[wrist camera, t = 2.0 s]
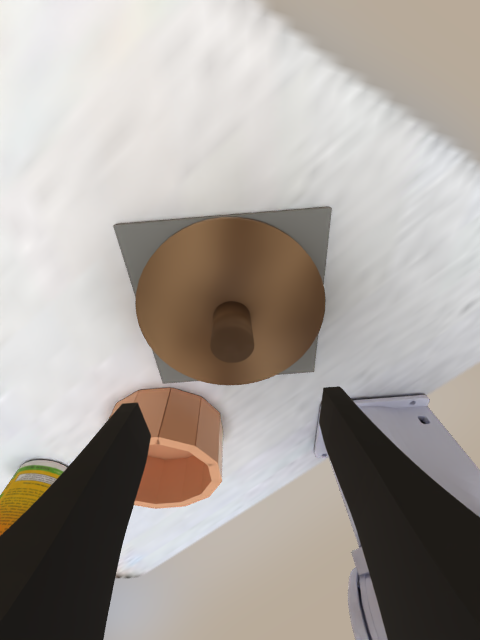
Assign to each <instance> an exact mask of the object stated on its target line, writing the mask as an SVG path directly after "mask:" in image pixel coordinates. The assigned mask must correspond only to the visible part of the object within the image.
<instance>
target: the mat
mask: <svg viewBox="0 0 480 640" xmlns="http://www.w3.org/2000/svg"><path fill="white" fill-rule="evenodd" d="M331 210H332V208H331V207H319V208H306V209H294V210H282V211H269V212H257V213H245V214H233V215H220V216H208V217H196V218H183V219H171V220H159V221H147V222H134V223H122V224H116V225H114V226H113V227H114V230H115V233H116V236H117V239H118V242H119V246H120V249H121V252H122V255H123V258H124V261H125V265H126V268H127V271H128V274H129V277H130V281H131V284H132V287H133V290H134V293H135V296H136V291H137V286H138V282H139V279H140V276H141V274H142V271H143V269H144V267H145V266H146V264H147V262H148V261H149V259H150V258H151V256H152V255H153V254H154V253H155V252H156V250H157V249H158V248H159V247H160V246H161V245H162V244H163V243H164V242H165V241H166V240H167V239H168V238H169V237H171V236H172V235H173V234H175V233H177V232H178V231H180V230H181V229H183V228H185V227H187V226H189V225H191V224H194V223H196V222H200V221H203V220H206V219H211V218H218V217H243V218H251V219H254V220H258V221H262V222H265V223H267V224H269V225H272V226H274V227H276V228H278V229H280V230H281V231H283V232H285V233H286V234H288V235H289V236H290V237H291V238H293V239H294V240H295V241H296V242H297V243H298V244H299V245H300V246H301V247H302V248H303V249H304V250H305V251H306V253H307V254H308V255H309V256H310V257H311V259H312V261H313V262H314V264H315V265H316V267H317V269H318V271H319V274H320V276H321V279H322V282H323V284H324V275H325V265H326V256H327V247H328V238H329V228H330V219H331ZM317 339H318V335H317V337H316V339H315V340H314V342H313V343H312V345H311V346H310V348H309V349H308V350H307V351H306V353H305V354H304V355H303V356H302V357H301V358H300V359H299V360H298V361H297V362H295V363H294V364H293V365H291V366H290V367H289V368H287V369H286V370H284V371H282V372H280V373H279V374H277V375H280V374H293V373H306V372H314V367H315V358H316V349H317ZM153 354H154V357H155V360H156V363H157V366H158V369H159V373H160V376H161V379H162V382H163V384H164V383H177V382H190V381H199V380H196V379H193V378H190V377H188V376H186V375H184V374H182V373H180V372H178V371H177V370H175V369H173V368H172V367H170V366H169V365H168V364H166V363H165V362H164V361H163V360H162V359H161V358H160V357H159V356H158V355H157V354H156V353H155V352H154V351H153Z"/></svg>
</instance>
